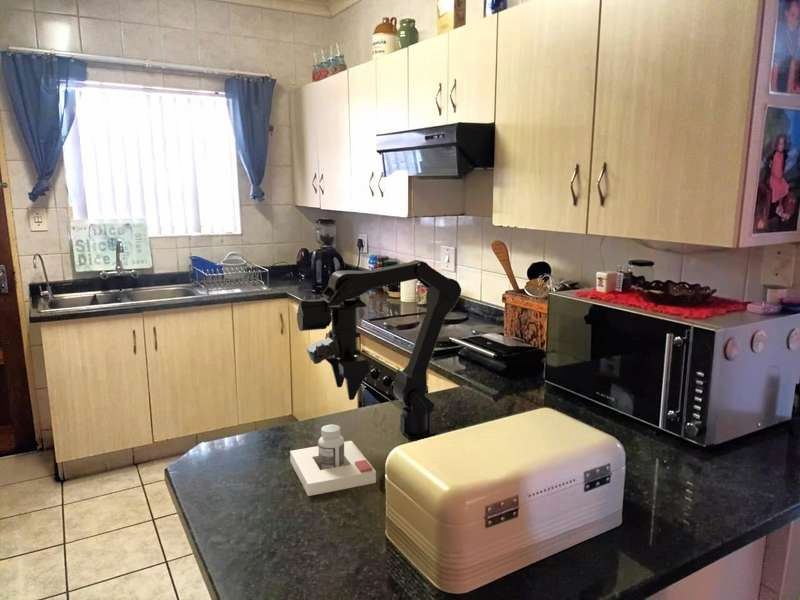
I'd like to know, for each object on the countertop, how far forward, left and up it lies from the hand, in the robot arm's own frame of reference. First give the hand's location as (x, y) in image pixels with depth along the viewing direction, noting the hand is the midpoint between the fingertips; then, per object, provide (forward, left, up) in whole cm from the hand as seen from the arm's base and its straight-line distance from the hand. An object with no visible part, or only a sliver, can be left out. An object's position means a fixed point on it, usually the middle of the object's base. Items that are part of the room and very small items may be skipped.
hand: (345, 393), depth 134 cm
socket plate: (+7, +12, -12) cm, 19 cm away
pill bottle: (+7, +12, -13) cm, 19 cm away
